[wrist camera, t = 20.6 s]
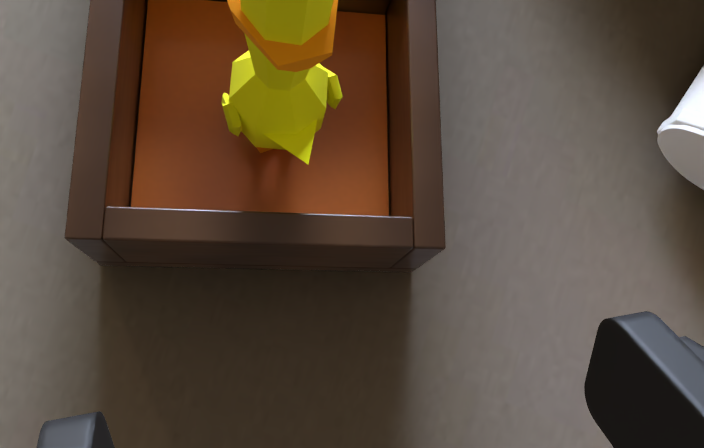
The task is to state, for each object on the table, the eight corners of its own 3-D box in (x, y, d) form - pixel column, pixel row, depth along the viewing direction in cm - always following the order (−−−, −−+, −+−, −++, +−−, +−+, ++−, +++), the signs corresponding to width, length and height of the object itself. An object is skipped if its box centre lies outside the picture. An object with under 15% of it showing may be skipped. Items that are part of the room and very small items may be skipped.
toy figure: (192, 49, 23) (132, -282, 12) (286, 26, 24) (316, -305, 12) (250, 219, 22) (247, 40, 10) (346, 189, 23) (442, -8, 11)
